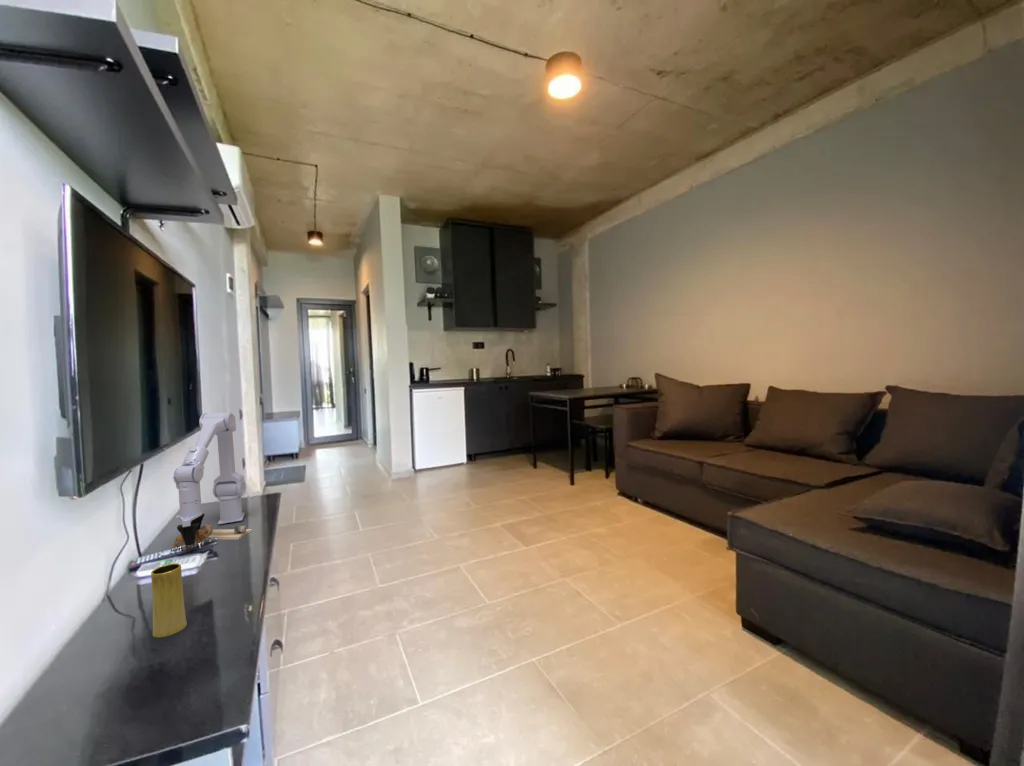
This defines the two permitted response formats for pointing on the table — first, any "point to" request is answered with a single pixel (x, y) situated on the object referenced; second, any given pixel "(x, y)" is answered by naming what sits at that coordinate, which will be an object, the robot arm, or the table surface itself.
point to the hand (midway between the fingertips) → (192, 540)
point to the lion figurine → (200, 535)
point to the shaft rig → (230, 532)
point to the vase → (168, 600)
